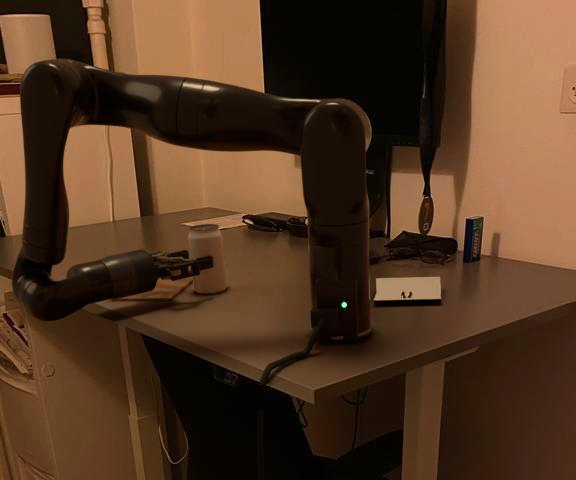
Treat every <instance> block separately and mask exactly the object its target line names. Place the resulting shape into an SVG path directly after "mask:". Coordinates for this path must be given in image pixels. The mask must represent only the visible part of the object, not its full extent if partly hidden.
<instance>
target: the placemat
mask: <svg viewBox="0 0 576 480" xmlns="http://www.w3.org/2000/svg"><path fill="white" fill-rule="evenodd" d="M192 283H193V277H188V278H184V279H179V280H175V281H172V280H171V278H170V279H167V280H162V279H161V278H158V280H157V284H156V287H155V288H154V289H153V290H152V291H149V292H145V293H141V294H137V295H132V296H128V297H124V298H119V299H111V301H114V302H115V301H172V299H174V298H175V297H176V296H177V295H178V294H179V293H181V292H182V291H183V290H185V288H187V287H188V286H189V285H190V284H192Z"/></svg>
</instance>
